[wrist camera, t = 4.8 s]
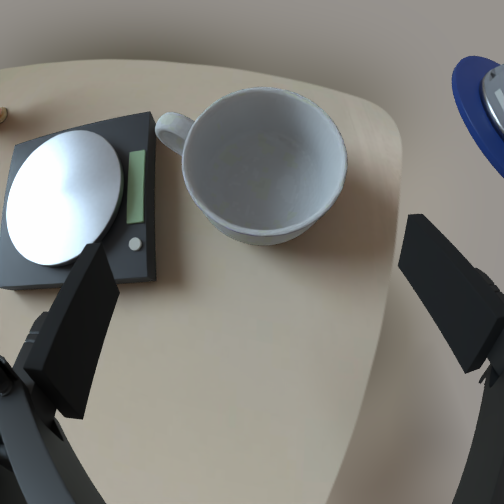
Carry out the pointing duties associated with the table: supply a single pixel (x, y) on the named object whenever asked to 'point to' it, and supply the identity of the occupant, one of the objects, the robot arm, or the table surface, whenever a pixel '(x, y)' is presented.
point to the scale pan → (64, 198)
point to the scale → (125, 224)
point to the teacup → (259, 163)
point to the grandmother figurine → (2, 114)
